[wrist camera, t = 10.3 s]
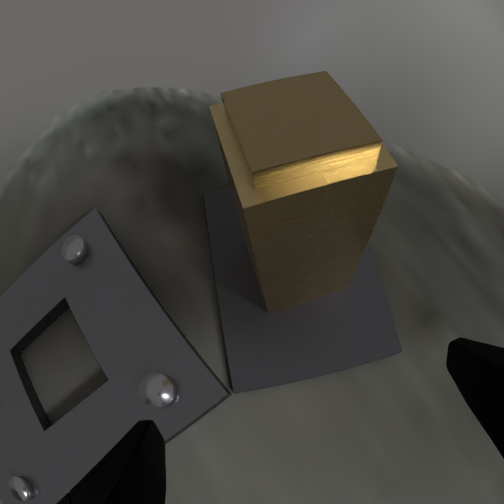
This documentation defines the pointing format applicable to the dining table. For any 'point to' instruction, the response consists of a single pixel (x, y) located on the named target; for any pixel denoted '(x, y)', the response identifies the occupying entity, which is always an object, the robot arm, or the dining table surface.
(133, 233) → the dining table surface
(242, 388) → the rubber mat
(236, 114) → the stepped brass square peg
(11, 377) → the square hole plate
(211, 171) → the dining table surface
